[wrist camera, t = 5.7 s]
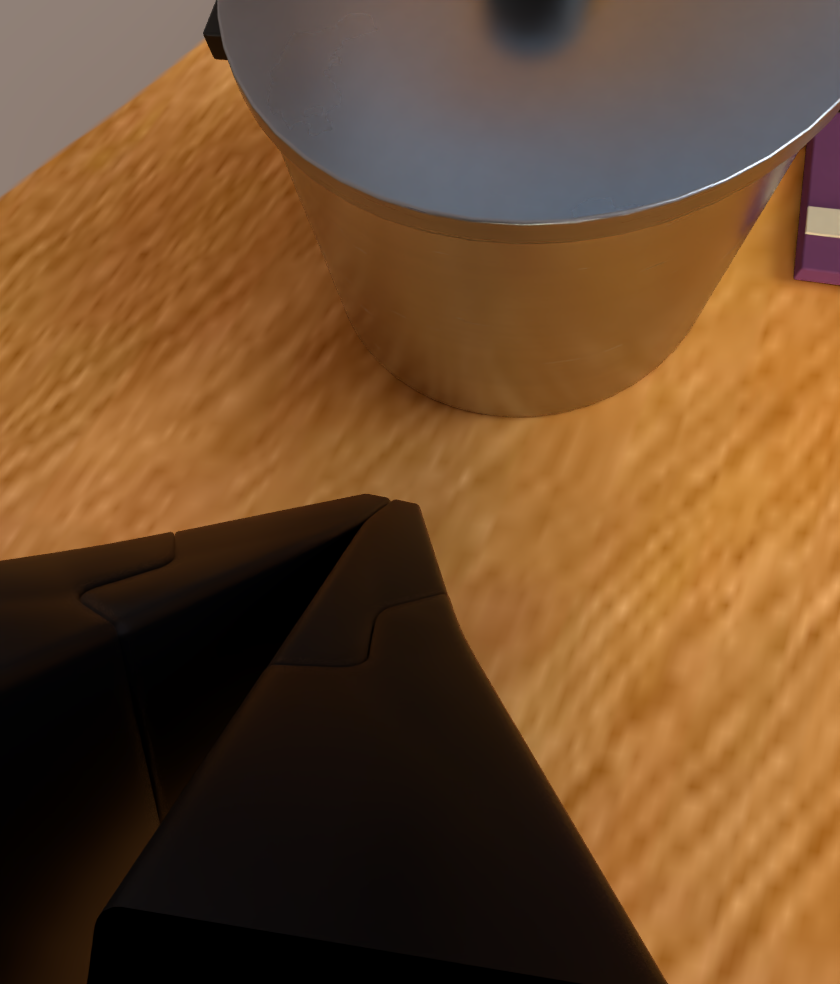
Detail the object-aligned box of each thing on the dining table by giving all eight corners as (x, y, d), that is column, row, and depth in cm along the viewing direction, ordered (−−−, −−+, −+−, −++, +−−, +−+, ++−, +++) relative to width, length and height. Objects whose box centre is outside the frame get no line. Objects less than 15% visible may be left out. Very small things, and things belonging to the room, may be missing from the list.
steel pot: (734, 468, 19) (1064, 209, 8) (253, 383, 21) (15, 100, 11) (775, 110, 22) (1050, -418, 11) (353, 73, 24) (247, -386, 14)
